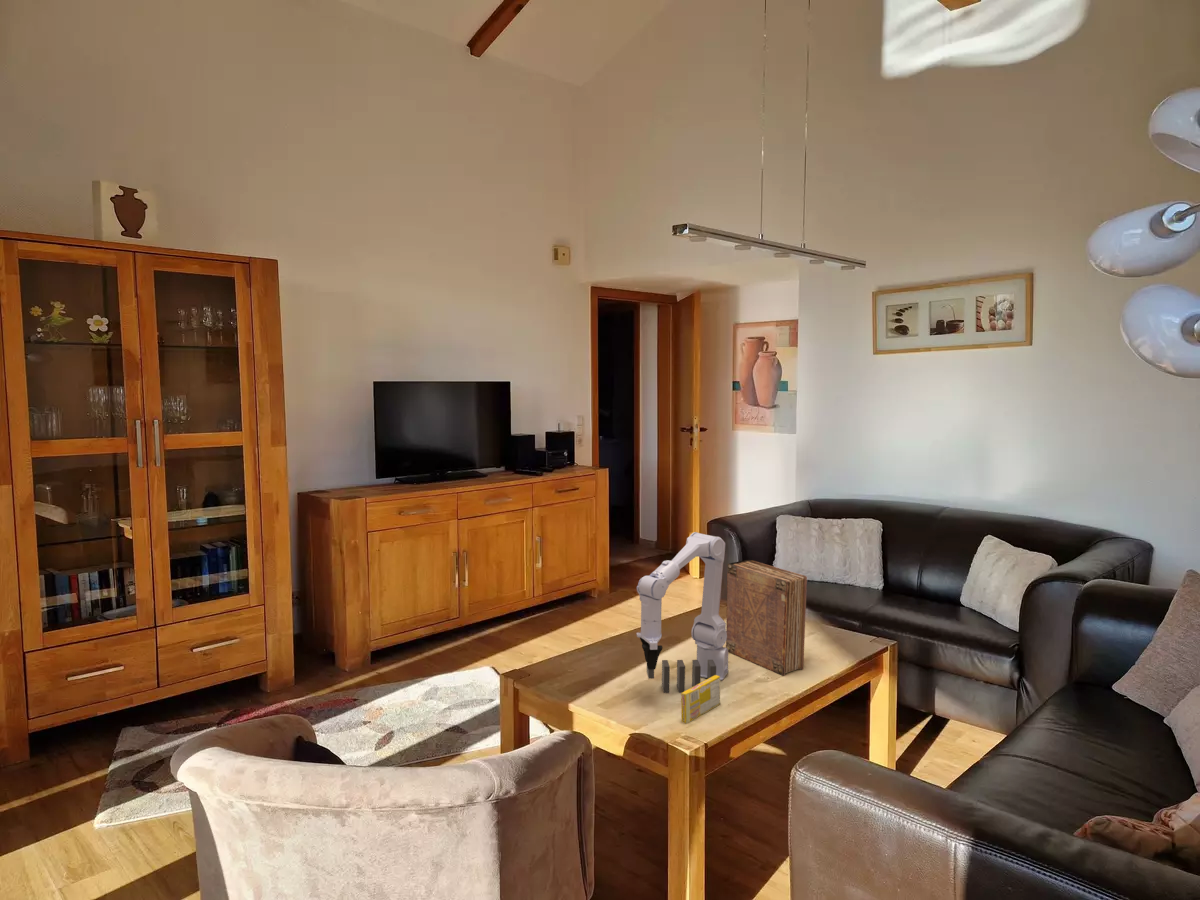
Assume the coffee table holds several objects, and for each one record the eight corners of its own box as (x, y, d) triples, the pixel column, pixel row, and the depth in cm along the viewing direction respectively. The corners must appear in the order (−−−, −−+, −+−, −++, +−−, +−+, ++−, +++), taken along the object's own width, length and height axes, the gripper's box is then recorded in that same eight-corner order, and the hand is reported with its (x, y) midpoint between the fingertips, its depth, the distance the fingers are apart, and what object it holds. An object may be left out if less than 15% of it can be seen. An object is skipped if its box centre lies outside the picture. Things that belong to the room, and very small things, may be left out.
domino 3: (682, 685, 233) (682, 659, 232) (684, 693, 228) (685, 666, 227) (676, 685, 233) (677, 659, 232) (679, 693, 228) (679, 666, 227)
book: (804, 670, 245) (807, 576, 242) (783, 676, 240) (787, 581, 237) (745, 645, 266) (747, 559, 263) (725, 651, 261) (727, 562, 257)
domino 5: (712, 685, 233) (713, 659, 232) (715, 692, 228) (716, 666, 227) (706, 685, 233) (707, 659, 232) (710, 692, 228) (710, 666, 227)
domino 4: (697, 685, 233) (697, 659, 232) (700, 692, 228) (700, 666, 227) (691, 685, 233) (692, 659, 232) (694, 692, 228) (695, 666, 227)
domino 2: (667, 686, 233) (667, 660, 232) (669, 693, 228) (669, 666, 227) (661, 686, 233) (662, 660, 232) (663, 693, 228) (664, 666, 227)
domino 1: (652, 671, 226) (652, 644, 225) (654, 678, 221) (654, 651, 220) (646, 671, 226) (646, 644, 225) (648, 678, 221) (648, 651, 220)
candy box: (714, 702, 222) (715, 674, 221) (720, 704, 221) (721, 676, 220) (680, 721, 210) (680, 691, 209) (686, 724, 209) (687, 694, 208)
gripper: (634, 610, 228) (634, 655, 230) (639, 627, 214) (638, 675, 215) (658, 610, 229) (658, 655, 230) (665, 627, 214) (664, 675, 216)
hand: (650, 665), depth 223 cm, fingers closed on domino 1, 5 cm apart
